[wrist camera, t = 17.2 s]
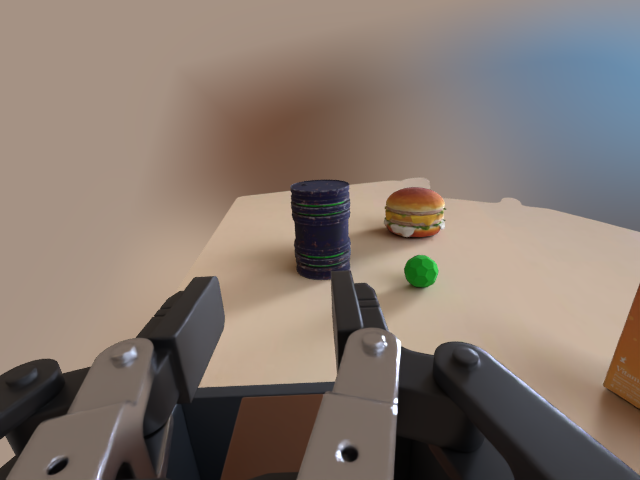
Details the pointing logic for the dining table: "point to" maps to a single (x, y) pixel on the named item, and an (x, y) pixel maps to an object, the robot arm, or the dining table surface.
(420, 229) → the burger
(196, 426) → the waste bin
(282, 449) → the chocolate carton
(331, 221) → the navy striped cylinder
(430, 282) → the polyhedron
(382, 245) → the dining table surface
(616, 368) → the small box
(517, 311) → the dining table surface
